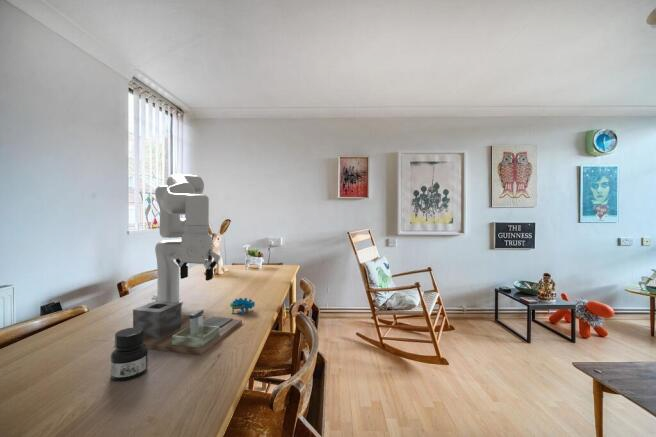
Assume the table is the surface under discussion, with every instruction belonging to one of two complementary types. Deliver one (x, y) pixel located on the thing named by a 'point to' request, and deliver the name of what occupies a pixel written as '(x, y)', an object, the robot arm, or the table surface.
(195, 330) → the grey capped block
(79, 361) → the table surface
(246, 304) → the blue lumpy piece
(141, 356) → the ink bottle
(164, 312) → the workbench
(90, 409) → the table surface
